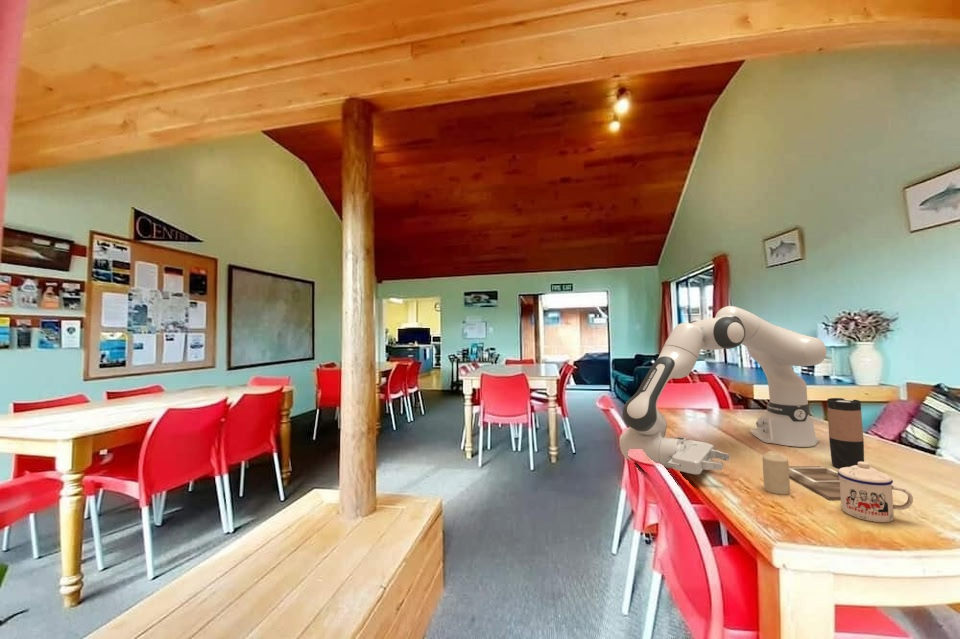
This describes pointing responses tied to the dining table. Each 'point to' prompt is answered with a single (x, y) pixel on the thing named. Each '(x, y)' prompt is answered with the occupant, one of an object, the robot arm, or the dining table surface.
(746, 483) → the dining table surface
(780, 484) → the candle
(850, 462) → the travel mug
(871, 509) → the teacup with lid
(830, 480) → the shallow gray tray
